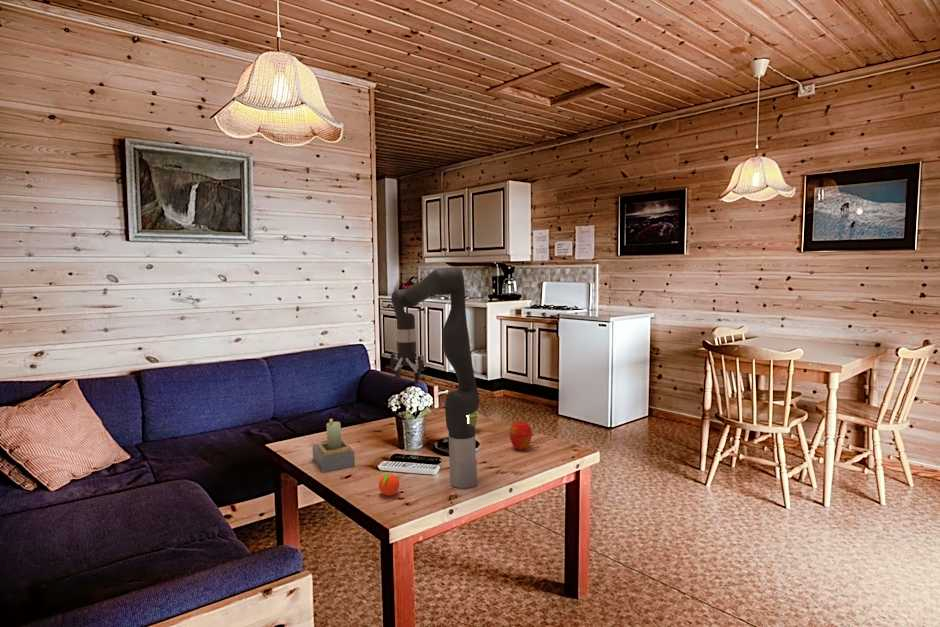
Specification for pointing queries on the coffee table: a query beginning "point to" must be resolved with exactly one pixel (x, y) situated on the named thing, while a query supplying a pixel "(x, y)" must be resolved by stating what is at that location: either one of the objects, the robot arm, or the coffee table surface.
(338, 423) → the pale green candle
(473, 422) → the plant pot
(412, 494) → the coffee table surface
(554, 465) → the coffee table surface
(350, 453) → the grey open box
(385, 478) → the clementine
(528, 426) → the apple
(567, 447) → the coffee table surface
